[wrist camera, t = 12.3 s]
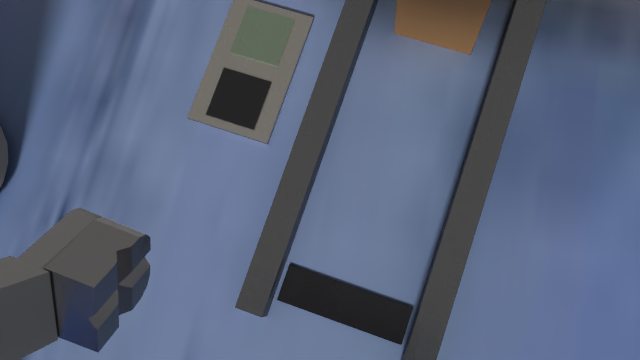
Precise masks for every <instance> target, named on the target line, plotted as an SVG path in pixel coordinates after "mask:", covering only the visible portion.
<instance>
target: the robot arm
mask: <svg viewBox="0 0 640 360" xmlns="http://www.w3.org/2000/svg"><path fill="white" fill-rule="evenodd" d="M149 251H150V237H149V236H148V235H146V234H143V233H141V232H139V231H136V230H134V229H131V228H129V227H127V226H124V225H122V224H119V223H117V222H114V221H112V220H110V219H107V218H105V217H102V216H99V215H97V214H94V213H92V212H89V211H87V210H84V209H82V208H77V209H74V210H72V211H70V212H69V213H68V214H67V215H66V216H64V217H63V218H62V219H61V220H60V221H59V222H58V223H57V224H55V225H54V226H53V227H52V228H51V229H50V230H49V231H48V232H46V233H45V234H44V235H43V236H42V237H41V238H40V239H39V240H37V241H36V242H35V243H34V244H33V245H32V246H31V247H30V248H28V249H27V250H26V251H25V252H24V253H23V254H22V255H21V256H20V257H18V258H14V257H12V256H9V257H6V258H2V259H0V360H19V359H21V358H23V357H25V356H27V355H29V354H31V353H33V352H35V351H37V350H39V349H41V348H43V347H45V346H47V345H49V344H51V343H52V342H54V341H56V340H58V337H59V338H62V339H64V340H67V341H70V342H72V343H75V344H77V345H80V346H83V347H85V348H88V349H90V350H93V351H96V352H99V351H100V350H101V349H102V347H103V346H104V345H105V344H106V342H107V341H108V340H109V339H110V337H111V336H112V335H113V334H114V332H115V331H116V330H117V329H118V327H119V315H121V314H123V313H126V312H128V311H131V310H133V308H134V307H135V306H136V304H137V303H138V302H139V300H140V299H141V297H142V295H143V293H144V291H145V289H146V287H147V284H148V280H149V276H150V265H149V263H148V261H147V260H146V258H145V255H146V254H147V253H148V252H149Z"/></svg>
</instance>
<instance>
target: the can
mask: <svg viewBox="0 0 640 360" xmlns="http://www.w3.org/2000/svg"><path fill="white" fill-rule="evenodd" d="M7 166H8V145H7V141H6V139H5V136H4V133H3V131H2V128H1V126H0V187H1V185H2V184H3V181H4V178H5V174H6V170H7Z"/></svg>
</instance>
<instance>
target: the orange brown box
mask: <svg viewBox="0 0 640 360" xmlns="http://www.w3.org/2000/svg"><path fill="white" fill-rule="evenodd" d="M491 1H492V0H397V3H396V19H395V34H398V35H402V36H405V37H409V38H413V39H416V40H420V41H423V42H427V43H430V44H434V45H437V46H441V47H445V48H448V49H452V50H455V51H459V52H462V53H466V54H469V55H471V52H472V50H473V47H474V44H475V42H476V39H477V37H478V34H479V32H480V29H481V27H482V24H483V22H484V19H485V16H486V14H487V11H488V9H489V6H490V4H491Z"/></svg>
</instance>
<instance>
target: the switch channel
mask: <svg viewBox="0 0 640 360" xmlns="http://www.w3.org/2000/svg"><path fill="white" fill-rule="evenodd" d="M377 2H378V0H346V1H345V4H344V6H343V9H342V12H341V15H340V18H339V20H338V23H337V26H336V29H335V31H334V34H333V37H332V40H331V43H330V45H329V48H328V51H327V54H326V56H325V59H324V62H323V65H322V67H321V70H320V73H319V76H318V79H317V81H316V84H315V87H314V90H313V92H312V95H311V98H310V101H309V104H308V106H307V109H306V112H305V115H304V117H303V120H302V123H301V126H300V128H299V131H298V134H297V137H296V140H295V142H294V145H293V148H292V151H291V153H290V156H289V159H288V162H287V165H286V167H285V170H284V173H283V176H282V178H281V181H280V184H279V187H278V189H277V192H276V195H275V198H274V201H273V203H272V206H271V209H270V212H269V214H268V217H267V220H266V223H265V226H264V228H263V231H262V234H261V237H260V239H259V242H258V245H257V248H256V250H255V253H254V256H253V259H252V262H251V264H250V267H249V270H248V273H247V275H246V278H245V281H244V284H243V286H242V289H241V292H240V295H239V298H238V300H237V303H236V306H235V308H238V309H241V310H243V311H246V312H249V313H251V314H254V315H257V316H260V317H265V316H267V314H268V312H269V309H270V306H271V303H272V300H273V297H274V295H275V292H276V289H277V286H278V283H279V280H280V277H281V275H282V272H283V269H284V266H285V263H286V260H287V258H288V255H289V252H290V249H291V246H292V243H293V241H294V238H295V235H296V232H297V229H298V226H299V224H300V221H301V218H302V215H303V212H304V209H305V206H306V204H307V201H308V198H309V195H310V192H311V189H312V187H313V184H314V181H315V178H316V175H317V172H318V170H319V167H320V164H321V161H322V158H323V155H324V152H325V150H326V147H327V144H328V141H329V138H330V135H331V133H332V130H333V127H334V124H335V121H336V118H337V116H338V113H339V110H340V107H341V104H342V101H343V99H344V96H345V93H346V90H347V87H348V84H349V81H350V79H351V76H352V73H353V70H354V67H355V64H356V62H357V59H358V56H359V53H360V50H361V47H362V45H363V42H364V39H365V36H366V33H367V30H368V27H369V25H370V22H371V19H372V16H373V13H374V10H375V8H376V5H377ZM545 4H546V0H515V2H514V5H513V8H512V11H511V14H510V17H509V21H508V24H507V27H506V30H505V33H504V36H503V40H502V43H501V46H500V49H499V52H498V55H497V59H496V62H495V65H494V68H493V71H492V75H491V78H490V81H489V84H488V87H487V90H486V94H485V97H484V100H483V103H482V106H481V109H480V113H479V116H478V119H477V122H476V125H475V128H474V132H473V135H472V138H471V141H470V144H469V147H468V151H467V154H466V157H465V160H464V163H463V166H462V170H461V173H460V176H459V179H458V182H457V186H456V189H455V192H454V195H453V198H452V201H451V205H450V208H449V211H448V214H447V217H446V220H445V224H444V227H443V230H442V233H441V236H440V239H439V243H438V246H437V249H436V252H435V255H434V258H433V262H432V265H431V268H430V271H429V274H428V277H427V281H426V284H425V287H424V290H423V293H422V297H421V300H420V303H419V306H418V309H417V312H416V316H415V319H414V322H413V325H412V328H411V331H410V335H409V338H408V341H407V344H406V347H405V350H404V354H403V357H402V360H436V359H437V356H438V352H439V349H440V346H441V343H442V339H443V336H444V333H445V330H446V326H447V323H448V320H449V317H450V313H451V310H452V307H453V304H454V300H455V297H456V294H457V290H458V287H459V284H460V281H461V277H462V274H463V271H464V268H465V264H466V261H467V258H468V255H469V251H470V248H471V245H472V242H473V238H474V235H475V232H476V229H477V225H478V222H479V219H480V216H481V212H482V209H483V206H484V202H485V199H486V196H487V193H488V189H489V186H490V183H491V180H492V176H493V173H494V170H495V167H496V163H497V160H498V157H499V154H500V150H501V147H502V144H503V141H504V137H505V134H506V131H507V128H508V124H509V121H510V118H511V114H512V111H513V108H514V105H515V101H516V98H517V95H518V92H519V88H520V85H521V82H522V79H523V75H524V72H525V69H526V66H527V62H528V59H529V56H530V53H531V49H532V46H533V43H534V40H535V36H536V33H537V30H538V26H539V23H540V20H541V17H542V13H543V10H544V7H545ZM313 20H314V17H311V16H307V15H304V14H300V13H297V12H293V11H290V10H286V9H283V8H279V7H276V6H272V5H268V4H265V3H261V2H258V1H254V0H233V2H232V5H231V7H230V10H229V12H228V15H227V18H226V20H225V23H224V25H223V28H222V30H221V33H220V36H219V38H218V41H217V43H216V46H215V48H214V51H213V53H212V56H211V59H210V61H209V64H208V66H207V69H206V71H205V74H204V76H203V79H202V82H201V84H200V87H199V89H198V92H197V94H196V97H195V99H194V102H193V105H192V107H191V110H190V112H189V115H188V117H187V118H188V119H191V120H194V121H197V122H200V123H203V124H206V125H209V126H213V127H216V128H219V129H222V130H225V131H228V132H231V133H234V134H237V135H241V136H244V137H247V138H250V139H253V140H256V141H259V142H262V143H265V144H268V142H269V140H270V137H271V134H272V132H273V129H274V126H275V123H276V121H277V118H278V115H279V112H280V110H281V107H282V104H283V102H284V99H285V96H286V93H287V91H288V88H289V85H290V83H291V80H292V77H293V74H294V72H295V69H296V66H297V64H298V61H299V58H300V55H301V53H302V50H303V47H304V44H305V42H306V39H307V36H308V34H309V31H310V28H311V25H312V23H313ZM277 300H279V301H282V302H285V303H287V304H290V305H293V306H296V307H298V308H301V309H304V310H307V311H309V312H312V313H315V314H318V315H320V316H323V317H326V318H329V319H331V320H334V321H337V322H340V323H342V324H345V325H348V326H351V327H353V328H356V329H359V330H362V331H364V332H367V333H370V334H373V335H375V336H378V337H381V338H384V339H386V340H389V341H392V342H395V343H398V344H400V345H401V344H402V341H403V338H404V335H405V332H406V328H407V325H408V322H409V319H410V316H411V313H412V309H413V308H411V307H409V306H406V305H403V304H400V303H397V302H394V301H392V300H389V299H386V298H383V297H380V296H377V295H375V294H372V293H369V292H366V291H363V290H360V289H357V288H355V287H352V286H349V285H346V284H343V283H340V282H338V281H335V280H332V279H329V278H326V277H323V276H321V275H318V274H315V273H312V272H309V271H306V270H304V269H301V268H298V267H295V266H292V265H289V267H288V270H287V273H286V276H285V279H284V282H283V285H282V287H281V290H280V293H279V296H278V299H277Z"/></svg>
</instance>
